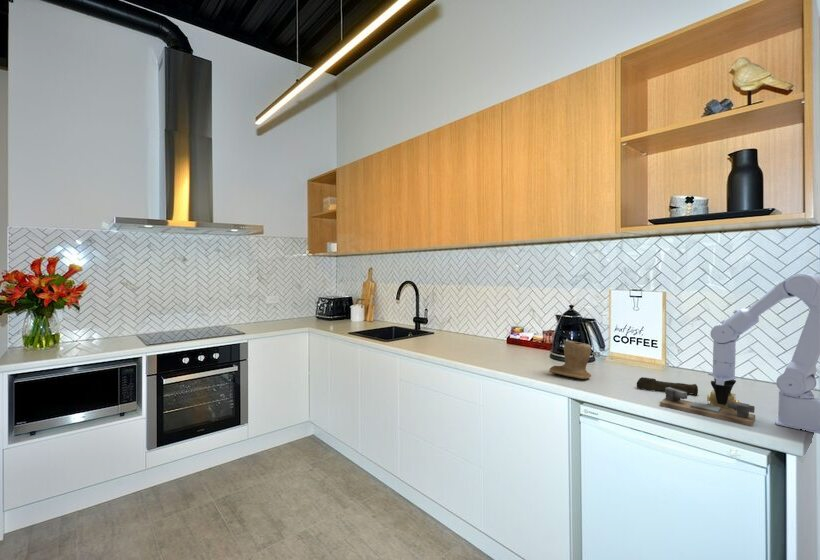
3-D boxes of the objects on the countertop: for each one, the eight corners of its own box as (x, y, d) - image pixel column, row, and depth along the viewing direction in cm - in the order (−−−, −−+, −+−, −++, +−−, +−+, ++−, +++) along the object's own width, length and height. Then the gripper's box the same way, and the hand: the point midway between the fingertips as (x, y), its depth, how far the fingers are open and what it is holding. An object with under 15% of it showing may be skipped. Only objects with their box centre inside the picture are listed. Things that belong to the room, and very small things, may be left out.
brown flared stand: (596, 377, 162) (596, 341, 162) (584, 382, 154) (585, 345, 154) (560, 370, 173) (561, 336, 173) (548, 375, 165) (548, 340, 164)
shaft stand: (755, 418, 117) (755, 403, 117) (752, 426, 112) (752, 409, 112) (666, 400, 134) (666, 386, 134) (660, 405, 128) (660, 391, 128)
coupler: (739, 408, 126) (739, 394, 126) (737, 411, 123) (738, 397, 123) (708, 402, 132) (709, 389, 132) (706, 405, 129) (706, 391, 129)
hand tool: (695, 393, 141) (696, 381, 141) (698, 397, 138) (698, 384, 138) (636, 387, 150) (636, 375, 150) (637, 389, 146) (637, 377, 146)
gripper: (712, 356, 135) (711, 394, 135) (704, 362, 125) (703, 404, 125) (739, 359, 130) (737, 399, 130) (732, 366, 120) (731, 410, 120)
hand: (722, 402), depth 127 cm, fingers closed on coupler, 4 cm apart
